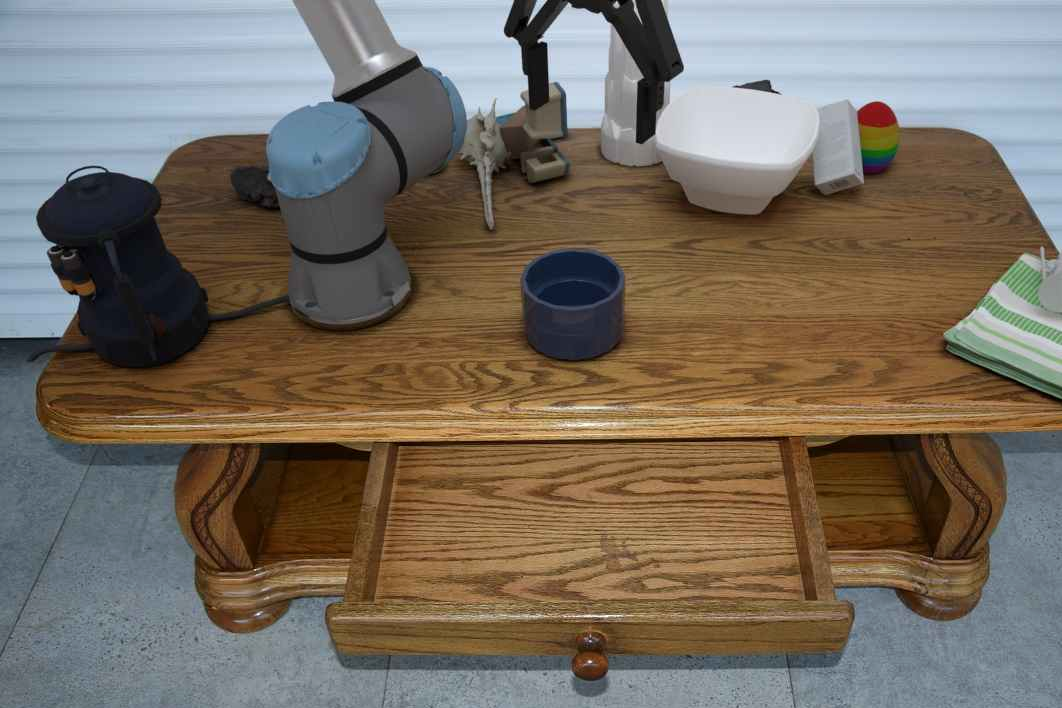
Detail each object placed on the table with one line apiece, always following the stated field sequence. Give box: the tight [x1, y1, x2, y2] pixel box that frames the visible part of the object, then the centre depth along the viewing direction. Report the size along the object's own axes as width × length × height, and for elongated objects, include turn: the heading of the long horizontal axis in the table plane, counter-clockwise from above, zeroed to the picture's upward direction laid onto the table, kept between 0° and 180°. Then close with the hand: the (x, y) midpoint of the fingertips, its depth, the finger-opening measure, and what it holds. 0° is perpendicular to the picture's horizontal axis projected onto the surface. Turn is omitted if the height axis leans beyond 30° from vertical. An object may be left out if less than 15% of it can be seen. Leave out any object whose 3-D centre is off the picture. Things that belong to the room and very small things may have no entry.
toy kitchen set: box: [495, 81, 571, 184], centre depth 141 cm, size 18×14×11 cm
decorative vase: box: [600, 0, 671, 167], centre depth 139 cm, size 11×11×25 cm
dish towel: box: [942, 252, 1062, 400], centre depth 113 cm, size 18×23×3 cm
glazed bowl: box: [519, 247, 626, 361], centre depth 112 cm, size 12×12×8 cm
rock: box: [229, 163, 280, 209], centre depth 135 cm, size 12×8×10 cm
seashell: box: [455, 97, 509, 231], centre depth 136 cm, size 10×9×25 cm
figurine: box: [1038, 246, 1062, 313], centre depth 116 cm, size 5×5×12 cm
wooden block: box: [500, 105, 539, 153], centre depth 140 cm, size 4×4×8 cm
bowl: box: [653, 85, 820, 216], centre depth 133 cm, size 22×22×12 cm
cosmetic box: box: [811, 98, 865, 196], centre depth 136 cm, size 6×4×12 cm
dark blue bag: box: [35, 165, 210, 368], centre depth 106 cm, size 15×21×20 cm
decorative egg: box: [856, 100, 901, 174], centre depth 140 cm, size 8×8×10 cm
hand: (591, 121), depth 100 cm, fingers open, 13 cm apart
